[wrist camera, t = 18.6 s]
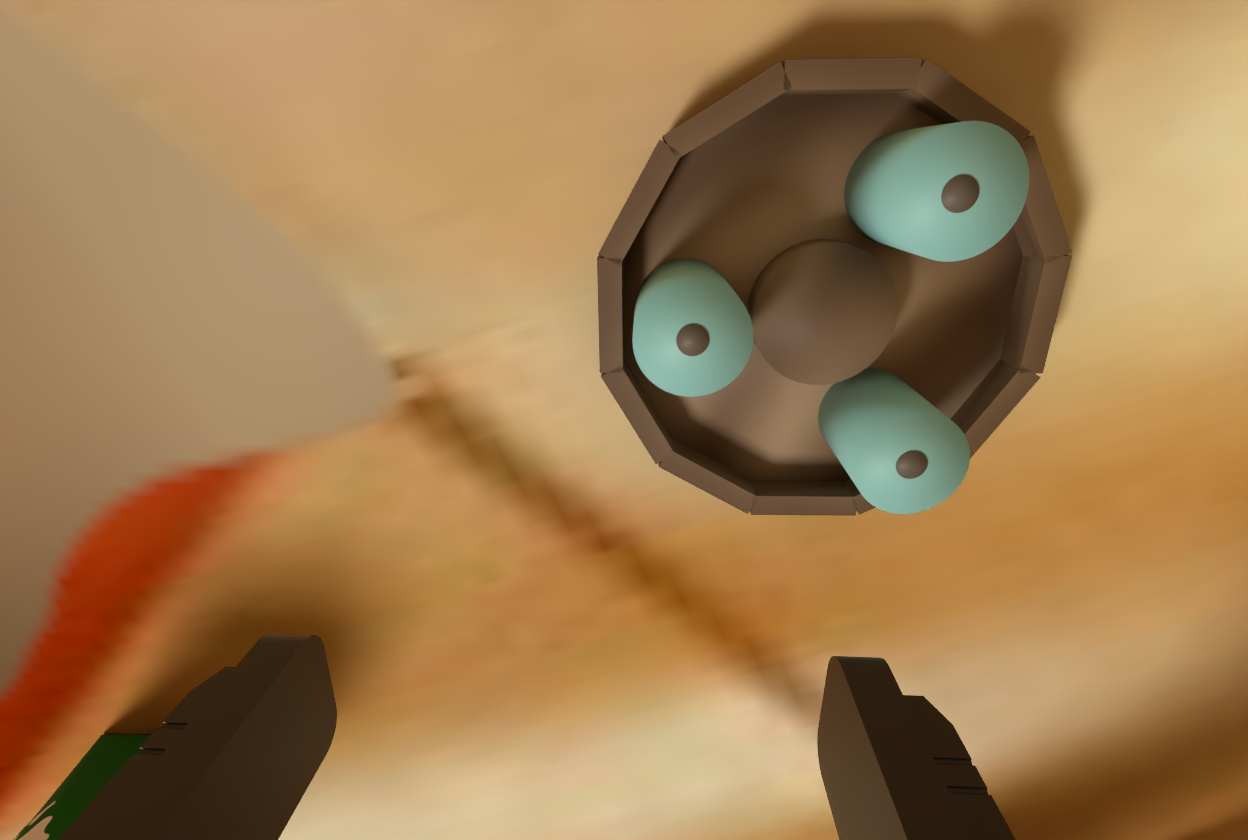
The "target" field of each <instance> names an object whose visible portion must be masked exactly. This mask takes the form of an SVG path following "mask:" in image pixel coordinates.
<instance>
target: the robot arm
mask: <svg viewBox="0 0 1248 840" xmlns="http://www.w3.org/2000/svg"><path fill="white" fill-rule="evenodd" d="M336 720H337V710H336V703H335V699H334V694H333V689H332V684H331V679H330V674H329V669H328V664H327V659H326V654H325V649H324V645H323V642H322V640H321V639H320V638H319V637H318V636H315V635H290V634H267V635H265V636H263V637H262V638H261V639H260V640H259V641H258V642H257V643H256V644H255V645H254V646H253V647H252V649H251V650H250V651H249V652H248V653H247V654H246V656H245V657H244V658H243V659H242V660H241V662H240V663H239V664H238V665H237V666H236V667H225V668H224V669H222V670H221V671H219V672H218V673H217V674H215V675H214V676H212V677H211V678H209V679H208V680H206V681H205V682H204V683H202V684H201V685H199V686H198V687H196V688H195V689H193V690H192V691H191V692H189V694H188V695H187V696H186V697H185V698H184V699H183V700H182V701H181V702H180V704H179V705H178V706H177V707H176V708H175V709H174V710H173V711H172V712H171V714H170V715H169V716H168V717H167V718H166V719H165V720H164V721H163V725H162V727H161V728H157V729H156V730H155V731H154V732H153V734H152V735H151V736H150V737H149V738H148V739H147V740H146V741H145V742H144V744H143V745H142V746H141V747H140V751H139V753H138V754H137V755H136V754H134V755H133V756H132V757H131V758H130V759H129V760H128V761H127V762H126V764H125V765H124V766H123V767H122V768H121V769H120V770H119V771H118V772H117V774H116V775H115V776H114V777H113V778H112V779H111V780H110V781H109V782H108V784H107V785H106V786H105V787H104V788H103V789H102V790H101V791H100V793H99V794H98V795H97V796H96V797H95V798H94V799H93V800H92V801H91V803H90V804H89V805H88V806H87V807H86V808H85V809H84V810H83V811H82V813H81V814H80V815H79V816H78V817H77V818H76V819H75V820H74V821H73V823H72V824H71V825H70V826H69V827H68V828H67V829H66V830H65V831H64V833H63V834H62V835H61V836H60V837H59V838H58V839H57V840H278V839H279V837H280V835H281V833H282V832H283V830H284V828H285V826H286V825H287V823H288V821H289V819H290V817H291V816H292V814H293V812H294V810H295V809H296V807H297V805H298V803H299V802H300V800H301V798H302V796H303V795H304V793H305V791H306V789H307V787H308V786H309V784H310V782H311V780H312V779H313V777H314V775H315V773H316V772H317V770H318V768H319V766H320V765H321V763H322V761H323V759H324V757H325V756H326V754H327V752H328V750H329V748H330V745H331V743H332V740H333V736H334V733H335V728H336ZM818 757H819V765H820V770H821V775H822V779H823V782H824V786H825V789H826V793H827V797H828V800H829V804H830V807H831V811H832V814H833V818H834V822H835V825H836V829H837V832H838V836H839V839H840V840H1015V838H1014V836H1013V834H1012V833H1011V831H1010V829H1009V827H1008V825H1007V823H1006V822H1005V820H1004V818H1003V816H1002V814H1001V812H1000V811H999V809H998V807H997V805H996V803H995V801H994V800H993V798H992V796H991V795H988V793H987V787H986V785H985V783H984V781H983V779H982V778H981V776H980V774H979V772H978V770H977V768H976V766H973V765H972V763H971V757H970V755H969V754H968V752H967V750H966V748H965V746H964V744H963V743H962V741H961V739H960V737H959V735H958V733H957V732H956V730H955V728H954V726H953V725H952V724H951V723H950V722H949V721H948V720H947V719H946V718H945V717H944V716H943V715H942V714H941V713H940V712H939V711H938V710H937V709H936V708H935V707H934V706H933V705H932V704H931V703H930V702H929V701H928V700H927V699H926V698H925V697H924V696H909V695H903V694H902V692H901V690H900V688H899V686H898V684H897V682H896V680H895V678H894V676H893V674H892V672H891V669H890V667H889V666H888V664H887V662H886V661H885V660H884V659H882V658H870V657H843V656H833V657H831V659H830V661H829V664H828V669H827V676H826V682H825V688H824V695H823V701H822V708H821V714H820V720H819V727H818Z"/></svg>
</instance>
